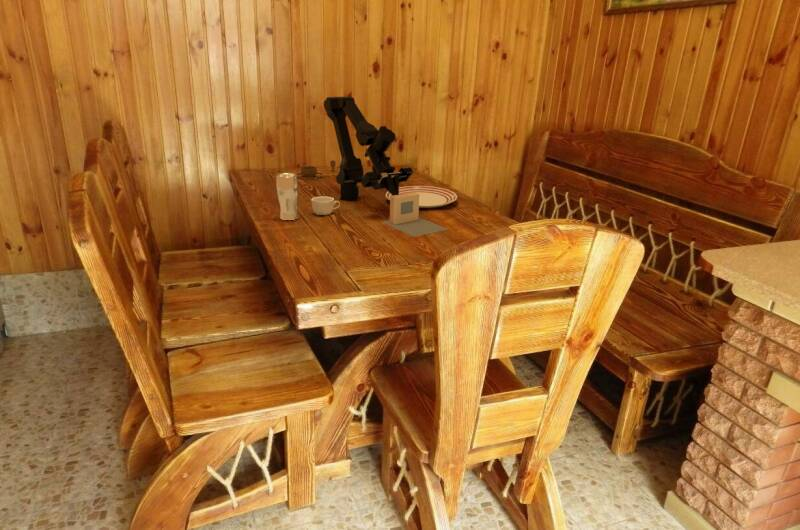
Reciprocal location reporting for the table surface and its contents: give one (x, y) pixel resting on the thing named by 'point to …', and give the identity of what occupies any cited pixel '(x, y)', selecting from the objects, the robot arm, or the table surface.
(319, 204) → the teacup
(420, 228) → the mat
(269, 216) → the table surface
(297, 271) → the table surface
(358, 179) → the robot arm
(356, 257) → the table surface
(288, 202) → the beer glass
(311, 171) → the place setting
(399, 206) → the tile
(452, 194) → the dinner plate
